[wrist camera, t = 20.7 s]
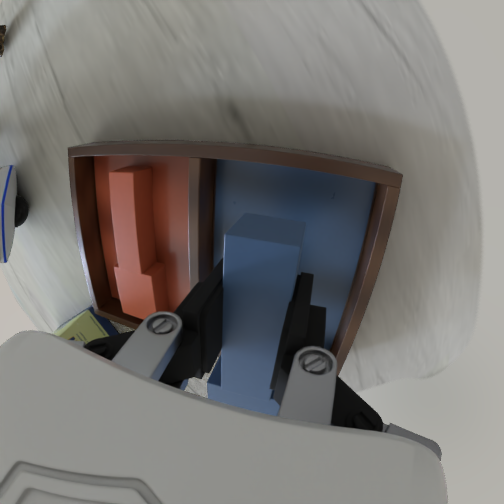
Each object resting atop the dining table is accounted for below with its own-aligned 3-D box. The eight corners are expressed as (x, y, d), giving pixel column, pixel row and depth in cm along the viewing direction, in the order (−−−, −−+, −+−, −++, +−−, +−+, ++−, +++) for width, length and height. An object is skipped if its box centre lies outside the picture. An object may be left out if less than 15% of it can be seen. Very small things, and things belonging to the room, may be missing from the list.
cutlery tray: (92, 142, 20) (67, 147, 18) (390, 167, 16) (403, 174, 13) (111, 298, 28) (94, 313, 25) (336, 355, 23) (336, 380, 20)
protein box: (148, 365, 31) (84, 458, 18) (98, 374, 38) (48, 437, 24) (95, 300, 29) (8, 384, 15) (58, 326, 35) (-2, 384, 22)
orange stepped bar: (120, 165, 20) (100, 171, 18) (161, 167, 19) (142, 172, 17) (135, 300, 25) (121, 313, 23) (169, 310, 25) (157, 326, 23)
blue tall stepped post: (225, 209, 11) (200, 229, 9) (327, 225, 10) (327, 252, 8) (220, 401, 17) (208, 429, 14) (279, 415, 16) (271, 445, 14)
